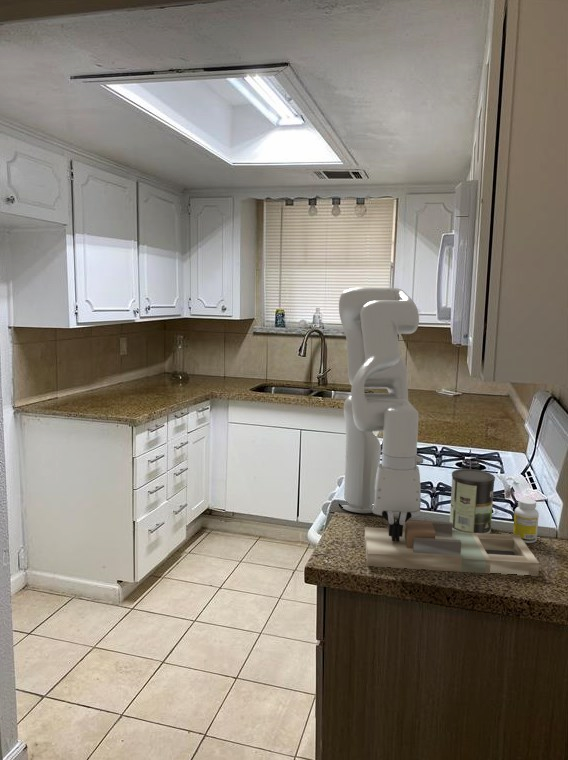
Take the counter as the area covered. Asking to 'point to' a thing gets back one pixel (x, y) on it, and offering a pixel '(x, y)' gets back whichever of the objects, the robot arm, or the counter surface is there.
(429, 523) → the walnut block
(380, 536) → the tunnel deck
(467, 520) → the coffee can
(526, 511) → the supplement bottle
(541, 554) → the counter surface
